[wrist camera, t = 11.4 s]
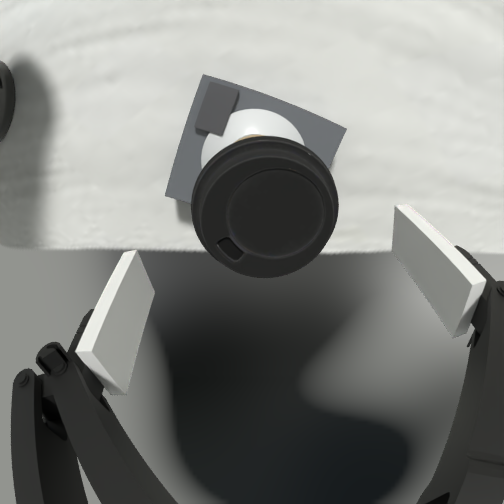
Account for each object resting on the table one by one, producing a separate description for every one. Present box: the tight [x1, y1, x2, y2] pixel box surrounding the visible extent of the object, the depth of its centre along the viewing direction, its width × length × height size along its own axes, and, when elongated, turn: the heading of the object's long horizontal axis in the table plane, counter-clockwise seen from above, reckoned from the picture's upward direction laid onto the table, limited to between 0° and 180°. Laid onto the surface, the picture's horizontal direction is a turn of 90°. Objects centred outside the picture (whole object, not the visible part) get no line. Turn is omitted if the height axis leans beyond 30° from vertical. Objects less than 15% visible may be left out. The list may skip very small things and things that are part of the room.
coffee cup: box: [191, 134, 339, 278], centre depth 24 cm, size 9×9×15 cm
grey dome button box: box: [165, 74, 347, 204], centre depth 32 cm, size 16×14×6 cm
